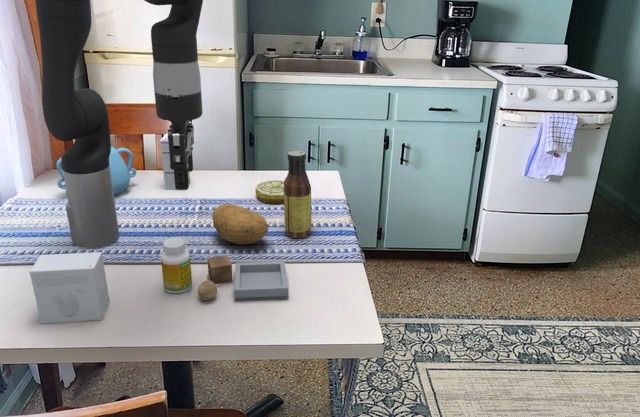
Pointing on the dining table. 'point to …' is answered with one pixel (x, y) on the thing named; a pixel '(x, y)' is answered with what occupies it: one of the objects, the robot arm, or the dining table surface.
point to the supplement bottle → (176, 266)
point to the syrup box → (168, 164)
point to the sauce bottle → (297, 197)
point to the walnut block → (220, 269)
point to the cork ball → (207, 290)
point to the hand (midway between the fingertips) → (184, 179)
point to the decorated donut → (271, 191)
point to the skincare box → (70, 287)
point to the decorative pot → (112, 170)
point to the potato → (239, 224)
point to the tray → (260, 281)
